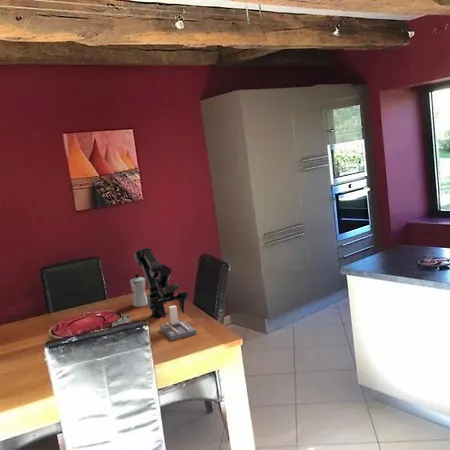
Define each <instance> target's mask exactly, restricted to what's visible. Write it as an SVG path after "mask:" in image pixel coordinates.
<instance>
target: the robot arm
mask: <svg viewBox="0 0 450 450" xmlns="http://www.w3.org/2000/svg"><path fill="white" fill-rule="evenodd" d="M133 257H134V260H135V261H136V263H137V265H138V266H140V267H141V268H142V271H143V275H144V278H145V281H146V283H147V286H148V289H149V292H148V297H147V302H148V304H147V306H148V307H149V310H151V314H150V315H149V317H151V318H157V319H160V318H162V317H163V318H164V319H166V315H167V314H168V313H167V312H166V310H165V306H164V305H165V304H167V303H168V302H174V301H178V305H179V309H180V311H181V314H185V302H187V301H188V297H189V293H188V291H186V290H184V291H179V292H178V294H177V295H175V294H176V293H175V292H176V291H177V290H179V284H178V283H177V282H174V283H172V284H171V285H170V283H169V281H170V278H171V274H172V270H171V268H170V267H168V266H166V265H165V264H163V263H162V262H160V261H158V260H157V258H156V257H155V254H154V253H153V252H152V249H151V247H143V248H141V249H140V250H136V251H135V252H133Z"/></svg>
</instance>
